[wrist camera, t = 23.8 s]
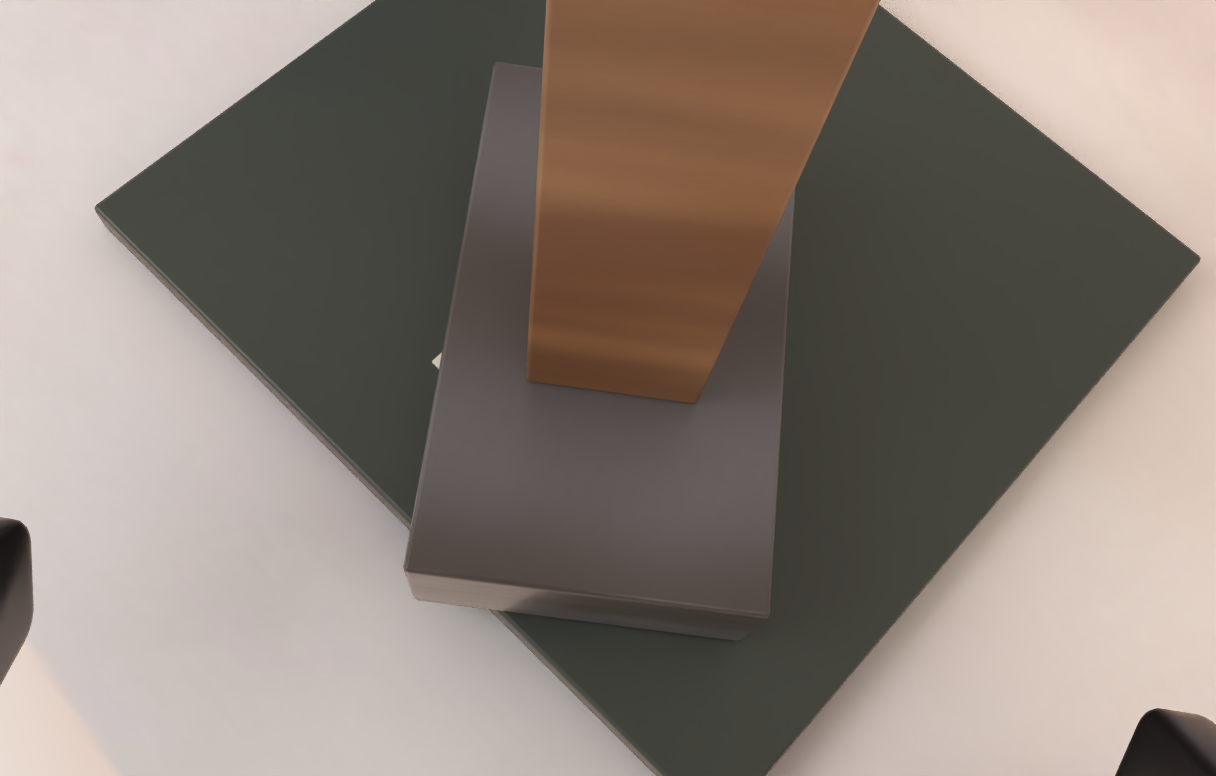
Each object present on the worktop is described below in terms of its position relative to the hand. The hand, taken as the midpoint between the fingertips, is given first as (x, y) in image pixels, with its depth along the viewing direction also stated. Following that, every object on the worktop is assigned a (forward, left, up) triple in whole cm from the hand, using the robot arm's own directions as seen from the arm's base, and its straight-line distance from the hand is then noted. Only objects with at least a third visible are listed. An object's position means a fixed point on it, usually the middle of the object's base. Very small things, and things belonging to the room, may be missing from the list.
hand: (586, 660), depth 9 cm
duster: (+6, +4, -12) cm, 14 cm away
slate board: (+9, +5, -13) cm, 16 cm away
